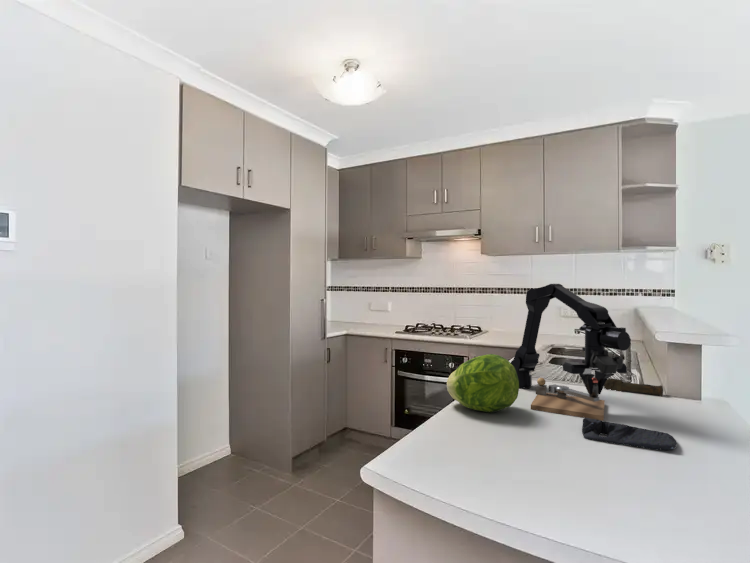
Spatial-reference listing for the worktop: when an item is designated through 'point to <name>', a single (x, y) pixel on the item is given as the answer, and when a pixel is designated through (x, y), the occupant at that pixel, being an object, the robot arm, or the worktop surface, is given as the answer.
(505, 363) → the lettuce
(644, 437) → the dark slate chunk
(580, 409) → the tan wooden panel
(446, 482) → the worktop surface
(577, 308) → the robot arm
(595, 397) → the lever
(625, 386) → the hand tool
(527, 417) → the worktop surface
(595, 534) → the worktop surface
